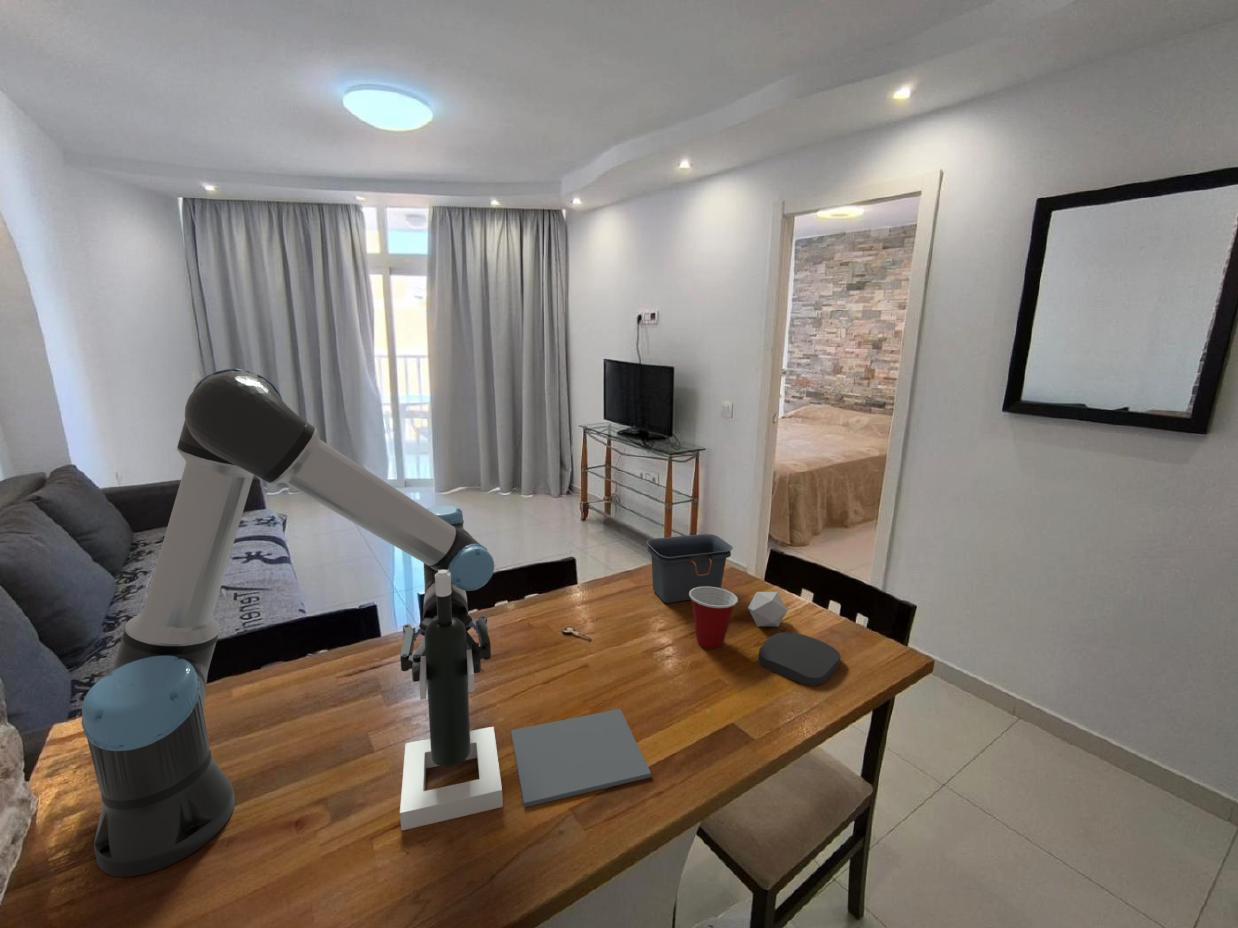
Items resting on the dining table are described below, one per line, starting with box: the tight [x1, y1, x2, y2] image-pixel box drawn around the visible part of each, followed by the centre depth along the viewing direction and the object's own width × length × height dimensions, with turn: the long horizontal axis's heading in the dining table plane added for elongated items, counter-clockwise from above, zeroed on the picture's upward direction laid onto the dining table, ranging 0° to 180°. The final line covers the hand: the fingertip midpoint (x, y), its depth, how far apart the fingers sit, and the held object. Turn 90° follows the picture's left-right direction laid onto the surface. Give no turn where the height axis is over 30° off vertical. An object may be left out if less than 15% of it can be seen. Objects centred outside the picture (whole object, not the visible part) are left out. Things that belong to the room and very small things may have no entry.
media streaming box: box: [758, 631, 841, 687], centre depth 119 cm, size 15×15×3 cm
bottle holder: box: [399, 726, 504, 831], centre depth 86 cm, size 14×14×3 cm
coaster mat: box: [510, 708, 652, 808], centre depth 92 cm, size 20×16×1 cm
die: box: [747, 591, 788, 628], centre depth 134 cm, size 8×9×10 cm
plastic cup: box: [689, 586, 739, 650], centre depth 125 cm, size 11×11×12 cm
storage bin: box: [645, 533, 734, 604], centre depth 147 cm, size 21×16×14 cm
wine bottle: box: [425, 569, 471, 768], centre depth 82 cm, size 6×6×30 cm
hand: (447, 686), depth 77 cm, fingers closed on wine bottle, 6 cm apart
